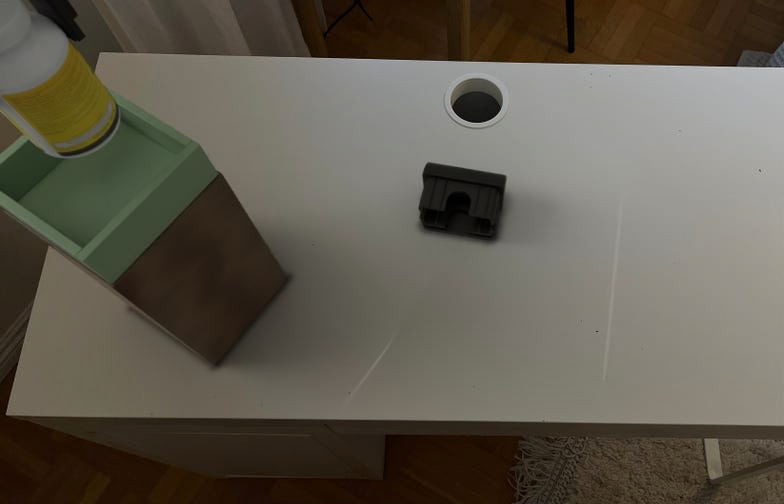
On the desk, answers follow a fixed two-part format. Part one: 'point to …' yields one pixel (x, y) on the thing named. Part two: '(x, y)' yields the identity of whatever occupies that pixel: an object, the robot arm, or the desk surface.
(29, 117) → the pill bottle
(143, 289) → the stand
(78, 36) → the robot arm
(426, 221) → the end cap
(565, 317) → the desk surface
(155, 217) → the green storage bin
